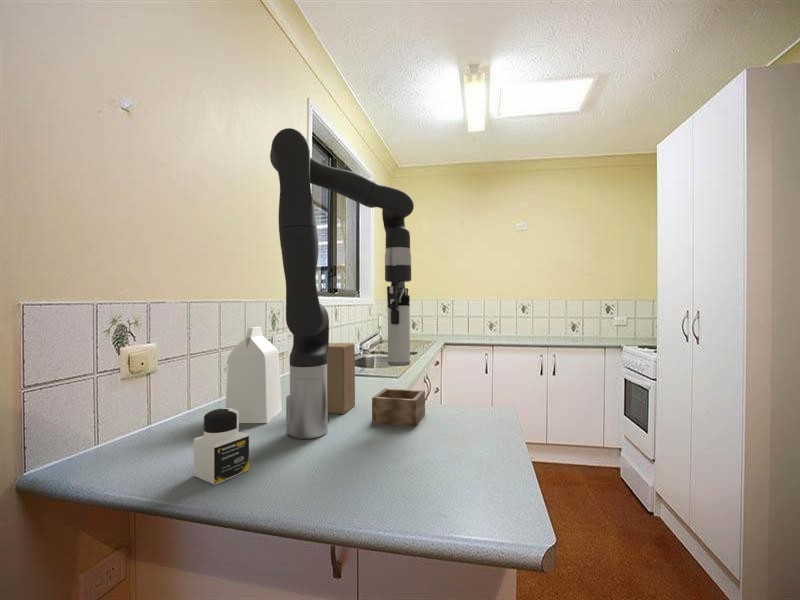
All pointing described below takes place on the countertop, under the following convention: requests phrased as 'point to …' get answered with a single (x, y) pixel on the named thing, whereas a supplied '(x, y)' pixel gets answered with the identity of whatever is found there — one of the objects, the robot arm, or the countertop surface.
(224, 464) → the medicine bottle
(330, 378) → the wooden block
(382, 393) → the open wooden box
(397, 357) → the travel mug
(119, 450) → the countertop surface
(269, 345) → the milk
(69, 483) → the countertop surface
